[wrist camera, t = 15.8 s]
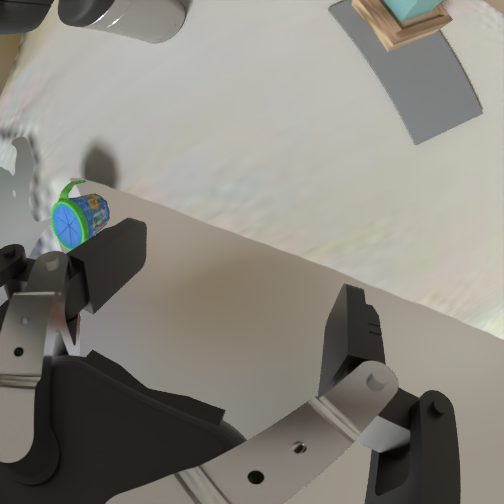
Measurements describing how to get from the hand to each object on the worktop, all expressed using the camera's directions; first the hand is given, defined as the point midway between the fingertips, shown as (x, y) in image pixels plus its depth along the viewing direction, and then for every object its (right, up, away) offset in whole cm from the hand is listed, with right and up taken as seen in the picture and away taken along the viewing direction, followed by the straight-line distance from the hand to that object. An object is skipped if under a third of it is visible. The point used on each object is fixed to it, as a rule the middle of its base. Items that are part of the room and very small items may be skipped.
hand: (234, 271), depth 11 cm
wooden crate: (+21, +35, +16) cm, 44 cm away
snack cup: (-32, +10, +44) cm, 55 cm away
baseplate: (+24, +29, +18) cm, 42 cm away
